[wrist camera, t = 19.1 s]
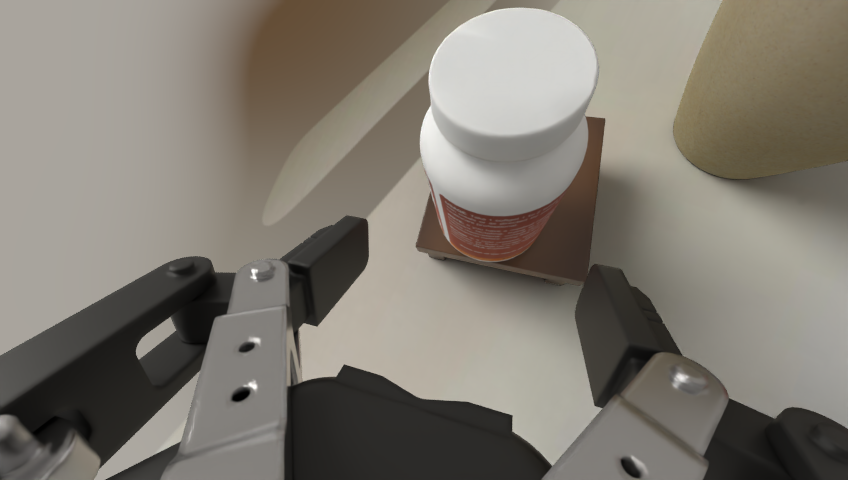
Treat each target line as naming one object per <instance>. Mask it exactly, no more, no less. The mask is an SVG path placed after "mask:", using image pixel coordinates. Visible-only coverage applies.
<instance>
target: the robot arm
mask: <svg viewBox="0 0 848 480" xmlns="http://www.w3.org/2000/svg"><path fill="white" fill-rule="evenodd" d="M368 257H369V242H368V222H367V220H366V219H363V218H358V217H353V216H345V217H344V218H342V219H341V220H340V221H338V222H337V223H336V224H335V225H331V226H328V227H325V228H323V229H320V230H318V231H317V232H316V233H314V234H313V235H312V236H311V237H310V238H308V239H306V240H305V241H304V242H303V243H301V244H300V245H298V246H297V247H295V248H294V249H293V250H292V251H290V252H289V253H287V254H286V255H285V256H283V257H282V258H281V259H261V260H257V261H253V262H251V263H248V264H246V265H244V266H243V267H242V268H240V269H239V270H238V272H237V273H215V271H214V268H213V265H212V262H211V260H209V259H208V258H205V257H197V256H195V257H186V258H180V259H176V260H174V261H170V262H168V263H166V264H164V265H162V266H160V267H158V268H157V269H155V270H153V271H151V272H150V273H148V274H146V275H144V276H142V277H140V278H139V279H137V280H135V281H134V282H132V283H130V284H128V285H126V286H125V287H123V288H121V289H119V290H117V291H115V292H114V293H112V294H110V295H108V296H106V297H105V298H103V299H101V300H99V301H98V302H96V303H94V304H92V305H90V306H89V307H87V308H85V309H83V310H81V311H80V312H78V313H76V314H74V315H72V316H71V317H69V318H67V319H65V320H63V321H62V322H60V323H58V324H56V325H55V326H53V327H51V328H49V329H47V330H45V331H44V332H42V333H40V334H38V335H37V336H35V337H33V338H32V339H29V340H28V341H26V342H24V343H22V344H20V345H19V346H17V347H15V348H13V349H11V350H10V351H8V352H6V353H4V354H3V355H1V356H0V480H94V478H95V477H96V475H97V473H98V470H99V469H100V468H101V467H102V466H103V465H104V464H105V463H106V462H107V461H108V460H109V459H110V458H111V457H112V456H113V455H114V454H115V453H116V452H117V451H118V450H119V449H120V448H121V447H122V446H123V445H124V444H125V443H126V442H127V441H128V440H129V439H130V438H131V437H132V436H133V435H134V434H135V433H136V432H137V431H138V430H140V429H141V427H143V426H144V425H145V424H146V423H147V422H148V421H149V420H150V419H151V418H152V417H153V416H154V415H155V414H156V413H157V412H158V411H159V410H160V409H161V408H162V407H163V406H164V405H165V404H166V403H167V402H168V401H169V400H170V399H171V398H172V397H173V396H174V395H175V394H176V393H177V392H178V391H179V390H180V389H181V388H182V387H183V386H184V385H185V384H186V383H188V382H189V381H190V380H191V379H192V378H193V377H194V376H195V375H196V374H197V373H198V372H199V371H200V374H199V378H198V381H197V385H196V389H195V393H194V396H193V400H192V403H191V407H190V411H189V414H188V418H187V422H186V426H185V429H184V433H183V437H182V440H181V442H179V443H177V444H175V445H173V446H171V447H169V448H167V449H165V450H163V451H161V452H159V453H157V454H155V455H153V456H151V457H149V458H147V459H145V460H143V461H141V462H140V463H138V464H136V465H134V466H132V467H130V468H128V469H126V470H124V471H122V472H120V473H118V474H116V475H114V476H112V477H110V478H108V479H106V480H848V429H847V428H845V427H844V426H842V425H840V424H839V423H837V422H835V421H833V420H831V419H829V418H827V417H825V416H823V415H820V414H818V413H816V412H813V411H810V410H806V409H802V408H795V407H791V408H786V409H785V410H783V411H782V412H781V413H780V414H779V415H778V416H777V417H776V418H775V419H774V418H772V417H769V416H767V415H765V414H763V413H760V412H758V411H756V410H754V409H752V408H749V407H747V406H745V405H743V404H741V403H738V402H736V401H734V400H732V399H730V398H729V396H728V393H727V390H726V389H725V387H724V385H723V384H722V383H721V382H720V381H719V379H718V378H717V377H716V376H714V375H713V374H712V373H711V372H710V371H708V370H707V369H706V368H704V367H703V366H701V365H700V364H698V363H696V362H694V361H693V360H691V359H688V358H686V357H684V356H683V355H682V354H681V352H680V350H679V349H678V347H677V345H676V343H675V342H674V340H673V338H672V337H671V335H670V333H669V331H668V330H667V328H666V326H665V324H662V322H663V321H662V319H661V318H660V316H659V314H658V313H656V312H657V311H656V309H655V307H654V306H653V304H652V302H651V300H650V299H649V298H648V297H647V296H646V295H645V294H643V293H642V292H641V291H640V290H639V289H638V288H637V287H632V286H630V285H629V283H628V281H627V279H626V277H625V275H624V273H623V271H622V270H621V269H619V268H614V267H609V266H604V265H598V264H594V265H593V266H592V267H591V269H590V271H589V274H588V276H587V279H586V281H585V283H584V286H583V288H582V291H581V293H580V296H579V298H578V301H577V304H576V310H575V319H576V324H577V329H578V333H579V338H580V342H581V346H582V351H583V355H584V360H585V364H586V369H587V373H588V378H589V382H590V387H591V391H592V396H593V400H594V405H595V406H597V407H600V408H603V409H602V410H601V411H600V412H599V414H598V415H597V416H596V417H595V418H594V419H593V420H592V422H591V423H590V424H589V425H588V426H587V427H586V429H585V430H584V431H583V432H582V433H581V434H580V435H579V437H578V438H577V439H576V440H575V441H574V442H573V443H572V445H571V446H570V447H569V448H568V449H567V450H566V452H565V453H564V454H563V455H562V456H561V457H560V458H559V460H558V461H557V462H556V463H555V464H554V465H553V466H552V465H551V464H550V463H549V462H548V461H547V460H546V459H545V458H544V457H543V455H542V454H541V453H540V452H539V451H537V450H536V449H535V448H534V447H533V446H532V445H531V444H530V443H528V442H527V441H525V440H524V439H523V438H521V437H520V436H519V435H517V434H515V433H514V432H512V415H509V414H505V413H502V412H499V411H496V410H492V409H489V408H486V407H482V406H479V405H476V404H473V403H469V402H460V401H443V400H426V399H420V398H418V397H416V396H414V395H412V394H411V393H409V392H407V391H406V390H404V389H402V388H401V387H399V386H398V385H396V384H394V383H393V382H391V381H389V380H388V379H386V378H384V377H383V376H380V375H377V374H374V373H370V372H367V371H364V370H361V369H357V368H354V367H351V366H347V365H343V367H342V369H341V370H340V372H339V374H338V375H337V377H322V378H316V379H311V380H307V381H304V382H303V380H302V364H301V346H300V332H299V328H300V326H301V325H302V324H303V323H306V324H310V325H313V326H318V325H319V324H320V323H321V321H322V320H323V319H324V318H325V317H326V315H327V314H328V313H329V312H330V310H331V309H332V308H333V307H334V306H335V304H336V303H337V302H338V301H339V300H340V298H341V297H342V296H343V295H344V294H345V292H346V291H347V290H348V289H349V287H350V286H351V285H352V284H353V283H354V281H355V280H356V279H357V278H358V277H359V275H360V274H361V273H362V272H363V271H364V269H365V267H366V265H367V262H368ZM169 317H171V319H172V321H173V324H174V326H175V328H176V331H175V332H174V333H173V334H171V335H170V336H169V337H168V338H167V339H165V340H164V341H163V342H161V343H160V344H159V345H157V346H156V347H155V348H154V349H152V350H151V351H150V352H148V353H147V354H146V355H145V356H143V357H142V358H141V359H140V360H138V358H137V356H136V347H137V345H138V343H139V341H140V340H141V338H142V337H143V336H145V335H146V334H147V333H148V332H150V331H151V330H153V329H154V328H155V327H157V326H158V325H159V324H161V323H162V322H163V321H165V320H166V319H168V318H169Z"/></svg>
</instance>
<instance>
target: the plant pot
mask: <svg viewBox="0 0 848 480" xmlns="http://www.w3.org/2000/svg"><path fill="white" fill-rule="evenodd" d="M673 133H674V138H675V141H676V144H677V146H678V148H679V150H680V151H681V152H682V154H683V155H684V156H685V157H686V158H687V159H688V160H689V161H690V162H691V163H693V164H694V165H695V166H697V167H698V168H700V169H702V170H704V171H706V172H708V173H710V174H713V175H716V176H719V177H724V178H729V179H752V178H758V177H764V176H770V175H776V174H782V173H788V172H793V171H799V170H804V169H810V168H815V167H820V166H824V165H829V164H834V163H838V162H843V161H848V0H723V1H722V3H721V5H720V7H719V9H718V11H717V14H716V16H715V18H714V20H713V22H712V24H711V27H710V29H709V31H708V33H707V35H706V38H705V40H704V42H703V44H702V47H701V49H700V52H699V54H698V56H697V59H696V61H695V64H694V66H693V69H692V71H691V74H690V77H689V79H688V82H687V85H686V88H685V90H684V93H683V96H682V99H681V102H680V105H679V108H678V111H677V115H676V118H675V121H674V128H673Z"/></svg>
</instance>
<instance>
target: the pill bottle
mask: <svg viewBox="0 0 848 480" xmlns="http://www.w3.org/2000/svg"><path fill="white" fill-rule="evenodd" d="M598 75H599V63H598V57H597V54H596V50H595V48H594V46H593V44H592V42H591V40H590V39H589V38H588V36H587V35H586V34H585V32H584V31H583V30H582V29H581V28H580V27H578V26H577V25H576V24H574V23H573V22H571V21H570V20H568V19H566V18H564V17H562V16H560V15H558V14H555V13H552V12H549V11H545V10H540V9H532V8H507V9H500V10H495V11H492V12H488V13H485V14H482V15H479V16H477V17H475V18H472V19H471V20H469V21H467V22H465V23H464V24H462V25H460V26H459V27H457V28H456V29H455V30H454V31H453V32H451V33H450V34H449V35H448V36H447V37H446V38H445V39H444V41H443V42H442V43H441V45H440V46H439V48H438V49H437V51H436V53H435V54H434V57H433V60H432V62H431V66H430V71H429V89H430V98H431V106H430V108H429V109H428V111H427V114H426V115H425V118H424V121H423V124H422V128H421V134H420V151H421V156H422V161H423V166H424V170H425V173H426V176H427V180H428V183H429V187H430V191H431V195H432V198H433V202H434V205H435V209H436V212H437V216H438V219H439V222H440V226H441V228H442V231H443V233H444V235H445V237H446V238H447V240H448V241H449V242H450V244H451V245H452V246H453V247H454V248H455V249H457V250H458V251H459V252H461V253H462V254H464V255H466V256H468V257H470V258H473V259H476V260H479V261H485V262H498V261H504V260H508V259H511V258H514V257H516V256H518V255H520V254H521V253H523V252H524V251H525V250H527V249H528V248H529V247H530V246H531V245H532V244H533V242H534V241H535V240H536V239H537V237H538V236H539V234H540V232H541V231H542V229H543V228H544V226H545V224H546V223H547V221H548V219H549V218H550V216H551V215H552V213H553V212H554V210H555V208H556V207H557V205H558V204H559V202H560V200H561V199H562V197H563V196H564V194H565V193H566V191H567V189H568V188H569V186H570V185H571V183H572V181H573V180H574V178H575V176H576V174H577V172H578V171H579V169H580V167H581V164H582V162H583V159H584V156H585V153H586V149H587V143H588V125H587V120H586V116H585V112H586V109H587V107H588V105H589V102H590V100H591V98H592V96H593V93H594V91H595V89H596V85H597V81H598Z"/></svg>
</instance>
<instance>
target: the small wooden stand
mask: <svg viewBox="0 0 848 480" xmlns="http://www.w3.org/2000/svg"><path fill="white" fill-rule="evenodd" d="M586 120H587V125H588V143H587V149H586V153H585V156H584V159H583V162H582V164H581V167H580V169H579V171H578V172H577V174H576V176H575V178H574V180H573V181H572V183H571V185H570V186H569V188H568V189H567V191H566V193H565V194H564V196H563V197H562V199H561V200H560V202H559V204H558V205H557V207H556V208H555V210H554V212H553V213H552V215H551V216H550V218H549V219H548V221H547V223H546V224H545V226H544V228H543V229H542V231H541V232H540V234H539V236H538V237H537V239H536V240H535V241H534V242H533V244H532V245H531V246H530V247H529V248H528V249H527V250H525V251H524V252H523V253H521V254H520V255H518V256H516V257H514V258H511V259H508V260H504V261H498V262H485V261H479V260H476V259H473V258H470V257H468V256H466V255H464V254H462V253H461V252H459V251H458V250H457V249H455V248H454V247H453V246H452V245H451V244H450V242H449V241H448V240H447V238H446V237H445V235H444V233H443V231H442V228H441V226H440V222H439V219H438V216H437V212H436V209H435V205H434V202H433V198H432V195H431V191H430V195H429V199H428V202H427V206H426V210H425V213H424V217H423V221H422V224H421V228H420V232H419V235H418V239H417V242H416V248H417V249H418V251H419V252H424V253H428V255H429V257H431V258H436V259H441V260H445V257H447V258H452V259H457V260H461V261H466V262H470V263H475V264H480V265H484V266H489V267H494V268H498V269H503V270H508V271H512V272H517V273H522V274H526V275H531V276H536V277H540V278H545V279H544V282H546V283H551V284H556V285H560V286H561V285H563V284H565V283H568V284H573V285H577V286H580V285H582V284H584V283H585V281H586V279H587V275H588V266H589V257H590V249H591V240H592V231H593V222H594V214H595V205H596V196H597V187H598V179H599V170H600V161H601V153H602V144H603V135H604V126H605V118H596V117H586Z"/></svg>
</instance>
